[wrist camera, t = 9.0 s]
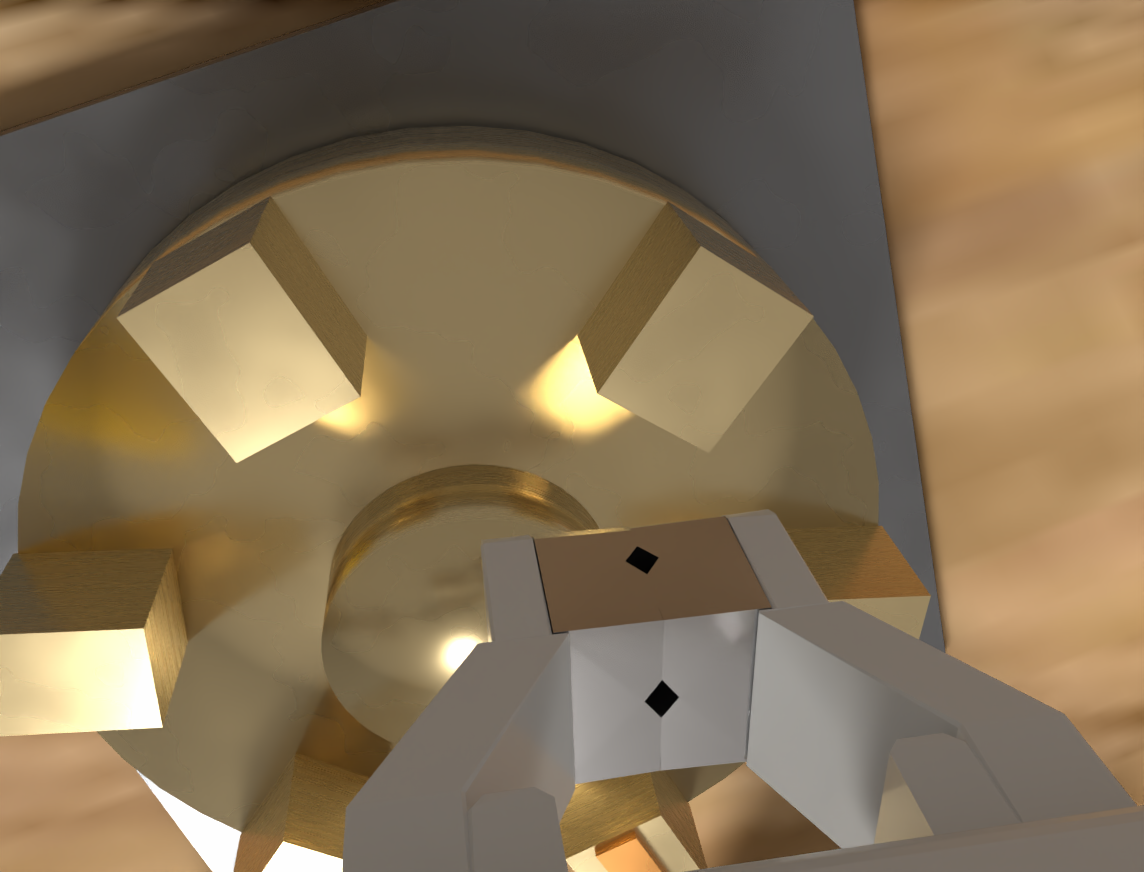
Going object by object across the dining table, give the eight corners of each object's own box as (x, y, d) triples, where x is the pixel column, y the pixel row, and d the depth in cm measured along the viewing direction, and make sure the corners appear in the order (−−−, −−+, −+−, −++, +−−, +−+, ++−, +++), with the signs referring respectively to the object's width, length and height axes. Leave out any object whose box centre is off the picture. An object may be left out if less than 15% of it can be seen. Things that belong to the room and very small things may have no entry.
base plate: (243, 884, 31) (239, 910, 30) (-247, 216, 20) (-274, 230, 20) (938, 667, 31) (951, 687, 30) (818, -147, 20) (834, -147, 19)
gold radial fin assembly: (-128, 391, 21) (-292, 551, 16) (645, -51, 19) (723, -21, 14) (352, 865, 30) (340, 1062, 25) (921, 598, 28) (1030, 756, 23)
